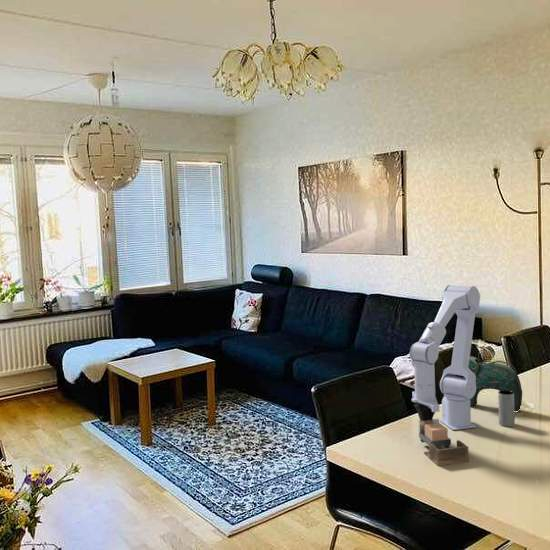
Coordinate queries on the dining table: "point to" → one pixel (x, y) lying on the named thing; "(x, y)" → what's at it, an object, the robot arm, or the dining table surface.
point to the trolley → (434, 433)
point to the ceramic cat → (495, 379)
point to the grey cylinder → (506, 408)
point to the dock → (448, 454)
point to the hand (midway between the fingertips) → (426, 428)
